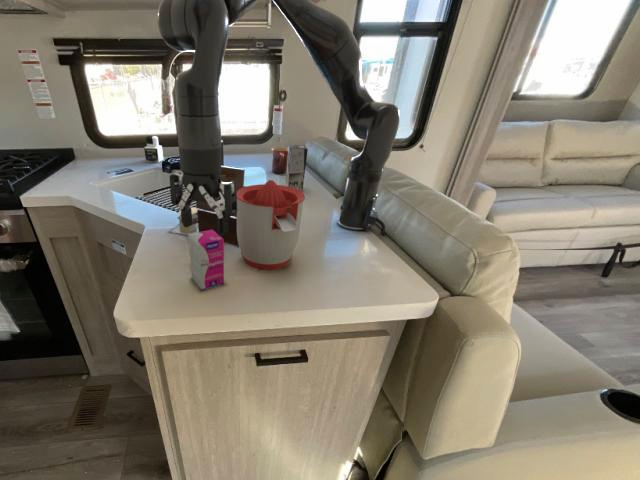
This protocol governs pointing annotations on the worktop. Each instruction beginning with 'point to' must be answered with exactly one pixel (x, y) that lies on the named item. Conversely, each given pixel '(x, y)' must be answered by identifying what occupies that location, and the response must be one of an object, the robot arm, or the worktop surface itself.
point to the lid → (226, 176)
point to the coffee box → (296, 166)
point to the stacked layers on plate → (190, 229)
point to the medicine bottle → (153, 150)
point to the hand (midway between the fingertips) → (204, 230)
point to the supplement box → (207, 259)
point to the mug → (279, 159)
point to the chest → (209, 222)
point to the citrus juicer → (268, 224)
